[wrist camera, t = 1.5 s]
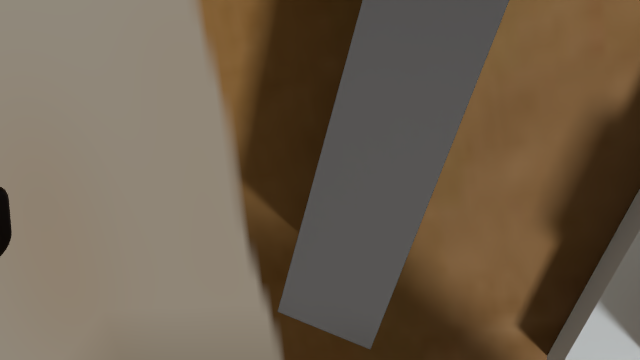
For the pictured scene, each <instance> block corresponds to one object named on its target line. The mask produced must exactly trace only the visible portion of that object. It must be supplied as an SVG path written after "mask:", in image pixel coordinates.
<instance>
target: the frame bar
mask: <svg viewBox="0 0 640 360" xmlns="http://www.w3.org/2000/svg"><path fill="white" fill-rule="evenodd" d="M508 2H509V0H363V1H362V5H361V8H360V12H359V16H358V19H357V23H356V27H355V30H354V34H353V38H352V41H351V45H350V48H349V52H348V56H347V59H346V63H345V67H344V70H343V74H342V78H341V81H340V85H339V89H338V92H337V96H336V100H335V103H334V107H333V111H332V114H331V118H330V122H329V125H328V129H327V133H326V136H325V140H324V144H323V147H322V151H321V155H320V158H319V162H318V166H317V169H316V173H315V177H314V180H313V184H312V188H311V191H310V195H309V199H308V202H307V206H306V210H305V213H304V217H303V221H302V224H301V228H300V232H299V235H298V239H297V243H296V246H295V250H294V254H293V257H292V261H291V265H290V268H289V272H288V276H287V279H286V283H285V287H284V290H283V294H282V298H281V301H280V305H279V309H278V312H280V313H282V314H284V315H287V316H289V317H292V318H294V319H297V320H299V321H302V322H304V323H306V324H309V325H311V326H314V327H316V328H319V329H321V330H324V331H326V332H328V333H331V334H333V335H336V336H338V337H341V338H343V339H345V340H348V341H350V342H353V343H355V344H358V345H360V346H363V347H365V348H367V349H371V347H372V344H373V342H374V339H375V337H376V334H377V331H378V329H379V326H380V324H381V321H382V319H383V316H384V314H385V311H386V309H387V306H388V304H389V301H390V299H391V296H392V294H393V291H394V289H395V286H396V284H397V281H398V279H399V276H400V274H401V271H402V269H403V266H404V264H405V261H406V259H407V256H408V254H409V251H410V248H411V246H412V243H413V241H414V238H415V236H416V233H417V231H418V228H419V226H420V223H421V221H422V218H423V216H424V213H425V211H426V208H427V206H428V203H429V201H430V198H431V196H432V193H433V191H434V188H435V186H436V183H437V181H438V178H439V176H440V173H441V171H442V168H443V165H444V163H445V160H446V158H447V155H448V153H449V150H450V148H451V145H452V143H453V140H454V138H455V135H456V133H457V130H458V128H459V125H460V123H461V120H462V118H463V115H464V113H465V110H466V108H467V105H468V103H469V100H470V98H471V95H472V93H473V90H474V88H475V85H476V83H477V80H478V77H479V75H480V72H481V70H482V67H483V65H484V62H485V60H486V57H487V55H488V52H489V50H490V47H491V45H492V42H493V40H494V37H495V35H496V32H497V30H498V27H499V25H500V22H501V20H502V17H503V15H504V12H505V10H506V7H507V5H508Z"/></svg>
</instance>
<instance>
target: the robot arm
mask: <svg viewBox="0 0 640 360" xmlns="http://www.w3.org/2000/svg"><path fill="white" fill-rule="evenodd" d="M10 239H11V220H10V209H9V199H8V194H7V193H6V191H5V190H4V189H3V188H2V187H0V256H1V255H2V254H3V253H4V251H5V250H6V248H7V247H8V245H9V242H10Z"/></svg>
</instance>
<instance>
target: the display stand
mask: <svg viewBox="0 0 640 360" xmlns="http://www.w3.org/2000/svg"><path fill="white" fill-rule="evenodd" d="M547 360H640V189H639V191H638V193H637V195H636V196H635V198H634V200H633V202H632V204H631V205H630V207H629V209H628V211H627V213H626V214H625V216H624V218H623V220H622V222H621V223H620V225H619V227H618V229H617V231H616V232H615V234H614V236H613V238H612V240H611V242H610V243H609V245H608V247H607V249H606V251H605V252H604V254H603V256H602V258H601V260H600V261H599V263H598V265H597V267H596V269H595V270H594V272H593V274H592V276H591V278H590V279H589V281H588V283H587V285H586V287H585V288H584V290H583V292H582V294H581V296H580V297H579V299H578V301H577V303H576V305H575V307H574V308H573V310H572V312H571V314H570V316H569V317H568V319H567V321H566V323H565V325H564V326H563V328H562V330H561V332H560V334H559V335H558V337H557V339H556V341H555V343H554V344H553V346H552V348H551V350H550V352H549V353H548V355H547Z"/></svg>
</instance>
